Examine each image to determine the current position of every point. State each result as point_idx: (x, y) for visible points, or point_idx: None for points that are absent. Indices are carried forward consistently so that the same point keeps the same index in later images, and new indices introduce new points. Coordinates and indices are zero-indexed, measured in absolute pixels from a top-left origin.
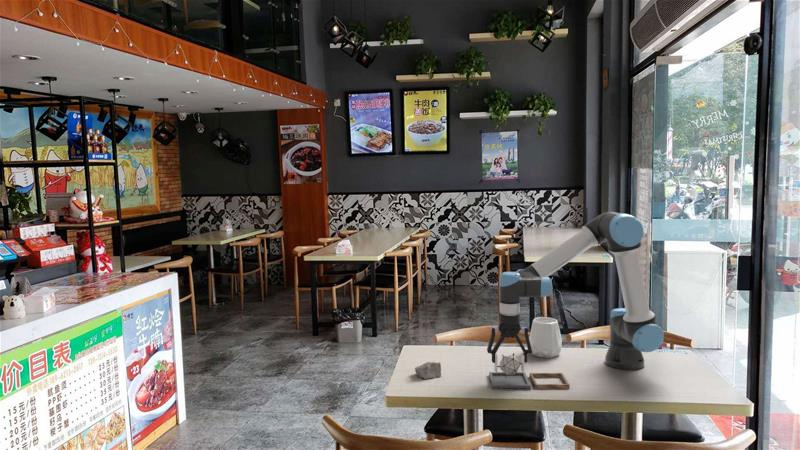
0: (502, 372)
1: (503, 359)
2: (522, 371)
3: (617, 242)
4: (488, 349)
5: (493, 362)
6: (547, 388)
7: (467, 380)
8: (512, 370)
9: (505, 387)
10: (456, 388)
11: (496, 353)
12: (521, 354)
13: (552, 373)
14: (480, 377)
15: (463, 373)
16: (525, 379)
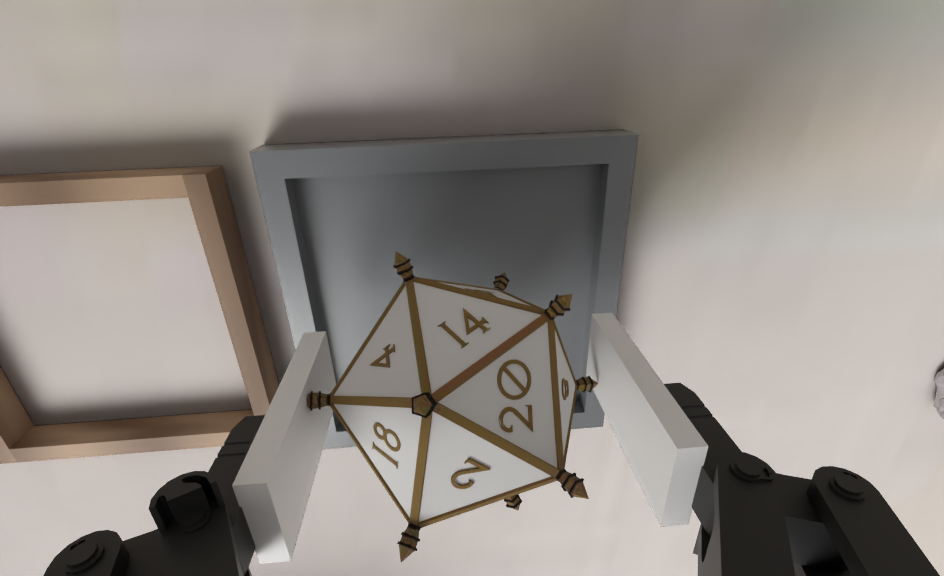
0: None
1: (558, 419)
2: (322, 334)
3: None
4: (893, 524)
5: (670, 386)
6: (98, 171)
7: (775, 315)
8: (437, 284)
9: (510, 138)
10: (929, 139)
11: (668, 510)
12: (292, 533)
13: (80, 444)
14: (662, 376)
15: (759, 431)
16: (311, 307)
